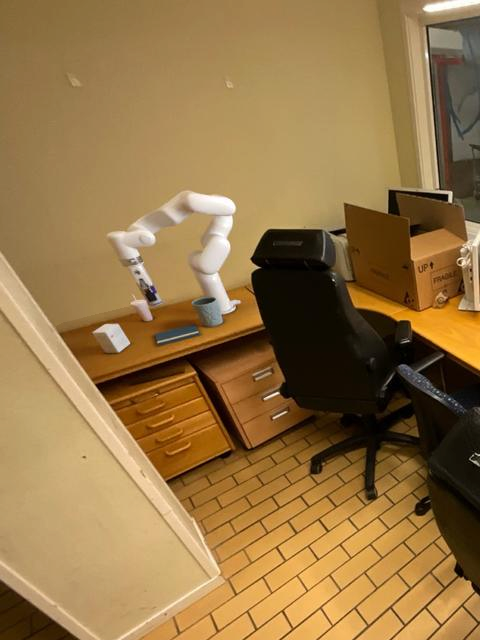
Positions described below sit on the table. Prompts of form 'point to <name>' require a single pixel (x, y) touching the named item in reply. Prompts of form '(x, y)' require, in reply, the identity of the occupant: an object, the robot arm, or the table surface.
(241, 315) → the table surface
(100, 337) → the small box
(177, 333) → the book
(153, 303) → the energy drink
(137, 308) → the smoothie
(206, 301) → the blue plant pot
